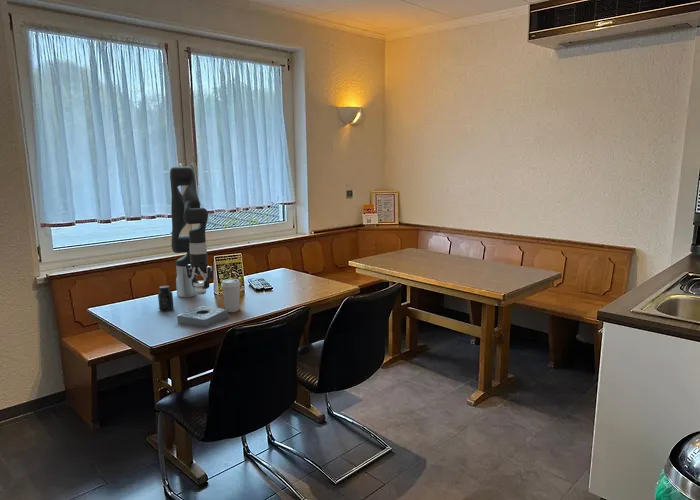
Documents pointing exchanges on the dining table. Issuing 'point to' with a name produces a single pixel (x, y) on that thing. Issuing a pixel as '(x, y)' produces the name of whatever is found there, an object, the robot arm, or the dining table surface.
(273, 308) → the dining table surface
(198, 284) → the bushing
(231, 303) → the coffee cup
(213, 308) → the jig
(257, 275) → the dining table surface
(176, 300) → the dining table surface
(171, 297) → the supplement bottle
